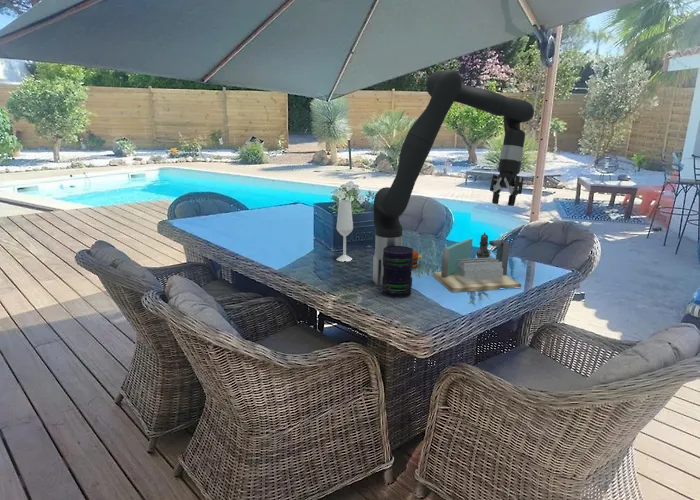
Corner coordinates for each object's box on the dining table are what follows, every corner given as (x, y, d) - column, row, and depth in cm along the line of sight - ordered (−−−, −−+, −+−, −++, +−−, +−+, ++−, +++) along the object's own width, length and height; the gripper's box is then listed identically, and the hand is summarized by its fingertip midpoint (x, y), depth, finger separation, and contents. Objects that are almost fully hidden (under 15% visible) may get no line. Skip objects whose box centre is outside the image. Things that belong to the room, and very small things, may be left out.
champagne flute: (350, 262, 204) (351, 202, 198) (334, 260, 205) (334, 201, 199) (354, 257, 210) (354, 200, 204) (338, 256, 212) (338, 199, 205)
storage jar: (409, 288, 174) (411, 245, 170) (413, 298, 164) (415, 253, 161) (380, 288, 174) (381, 245, 170) (383, 298, 164) (384, 253, 160)
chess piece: (479, 258, 212) (481, 229, 209) (492, 260, 208) (494, 232, 205) (472, 261, 207) (474, 232, 204) (486, 263, 204) (488, 234, 201)
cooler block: (464, 284, 173) (466, 250, 170) (451, 274, 184) (453, 242, 181) (516, 281, 177) (519, 247, 174) (500, 271, 188) (503, 240, 185)
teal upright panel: (445, 277, 180) (447, 250, 177) (440, 276, 181) (441, 248, 179) (471, 264, 196) (473, 239, 193) (466, 263, 197) (468, 238, 195)
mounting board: (452, 292, 170) (452, 288, 169) (432, 276, 187) (433, 272, 186) (520, 288, 175) (521, 283, 175) (495, 272, 192) (496, 268, 192)
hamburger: (410, 270, 194) (410, 254, 192) (389, 266, 200) (389, 249, 198) (423, 265, 201) (423, 249, 199) (403, 261, 207) (403, 245, 205)
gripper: (489, 157, 186) (481, 202, 188) (516, 157, 173) (507, 205, 175) (505, 161, 189) (498, 204, 191) (533, 161, 176) (524, 207, 178)
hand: (502, 204), depth 183 cm, fingers open, 8 cm apart
